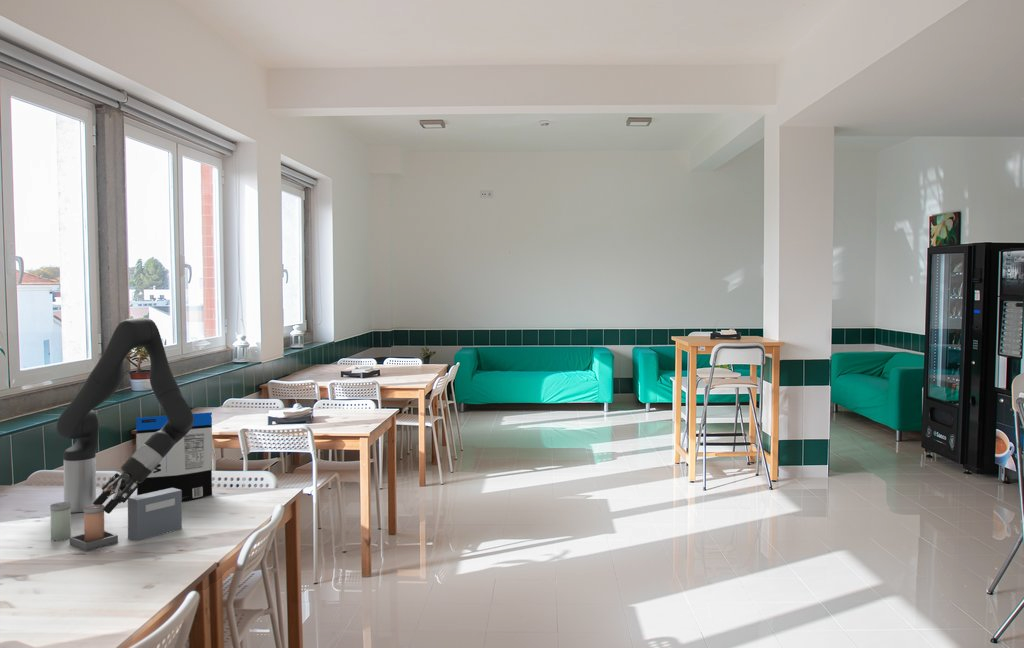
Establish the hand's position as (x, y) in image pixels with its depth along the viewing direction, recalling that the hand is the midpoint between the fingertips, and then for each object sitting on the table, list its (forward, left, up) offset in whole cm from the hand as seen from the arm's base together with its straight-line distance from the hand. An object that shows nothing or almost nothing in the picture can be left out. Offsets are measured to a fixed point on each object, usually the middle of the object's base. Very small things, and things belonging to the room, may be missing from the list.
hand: (100, 508), depth 212 cm
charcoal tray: (0, -2, -10) cm, 10 cm away
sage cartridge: (-13, -5, -10) cm, 17 cm away
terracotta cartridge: (0, -2, -9) cm, 9 cm away
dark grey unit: (+5, +14, -10) cm, 18 cm away
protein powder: (-24, +38, -10) cm, 46 cm away
